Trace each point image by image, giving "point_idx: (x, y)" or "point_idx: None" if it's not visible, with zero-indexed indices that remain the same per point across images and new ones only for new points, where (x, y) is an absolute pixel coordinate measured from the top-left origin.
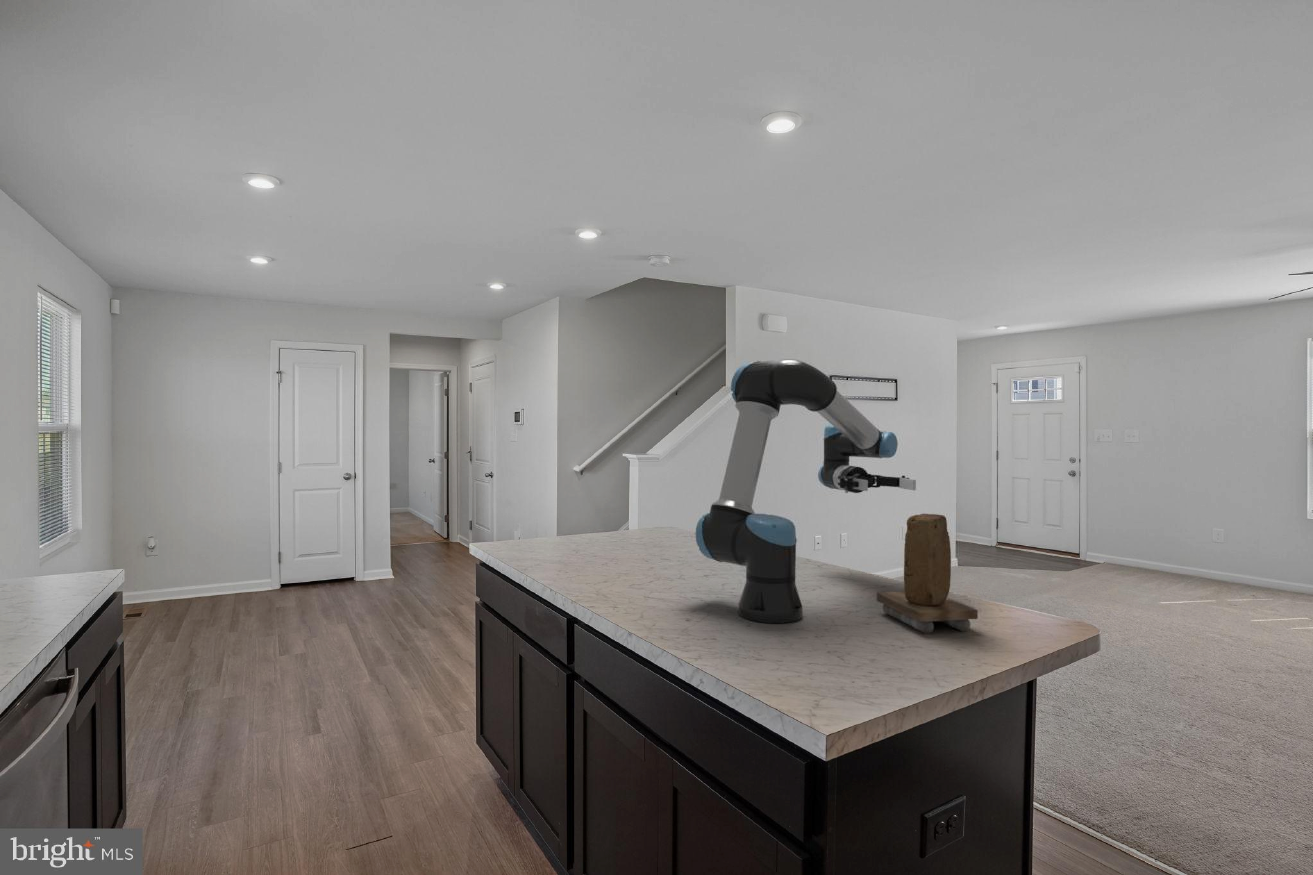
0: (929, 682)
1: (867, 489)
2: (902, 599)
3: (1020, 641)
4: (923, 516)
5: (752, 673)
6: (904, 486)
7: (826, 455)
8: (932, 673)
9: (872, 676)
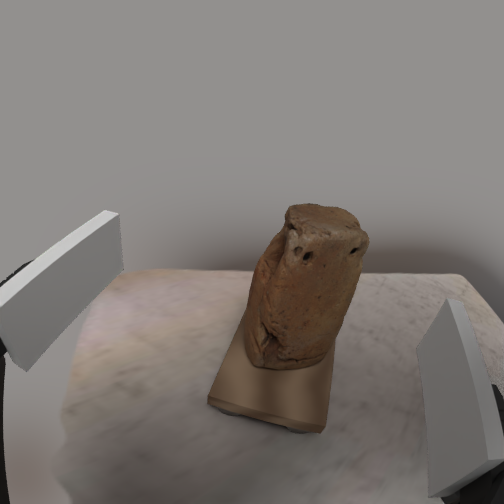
0: (389, 283)
1: (421, 342)
2: (313, 375)
3: (229, 292)
4: (336, 221)
5: (495, 333)
6: (62, 315)
7: None
8: (378, 289)
9: (423, 302)
